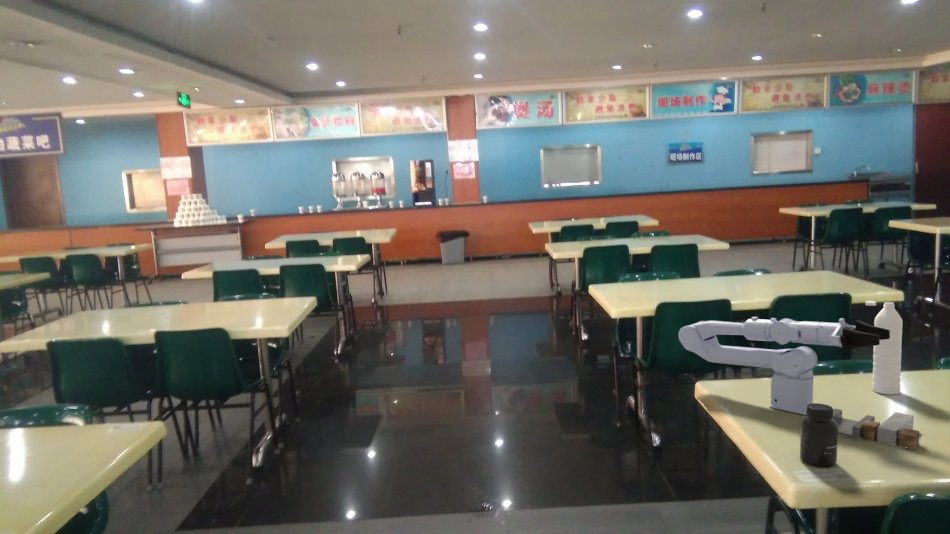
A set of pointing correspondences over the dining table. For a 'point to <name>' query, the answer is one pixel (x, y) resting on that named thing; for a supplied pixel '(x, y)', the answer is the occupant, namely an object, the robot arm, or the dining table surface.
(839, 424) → the block
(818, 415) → the supplement bottle
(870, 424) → the wooden blocks
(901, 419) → the grey rectangular bar
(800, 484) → the dining table surface
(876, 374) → the water bottle
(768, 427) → the dining table surface
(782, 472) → the dining table surface
